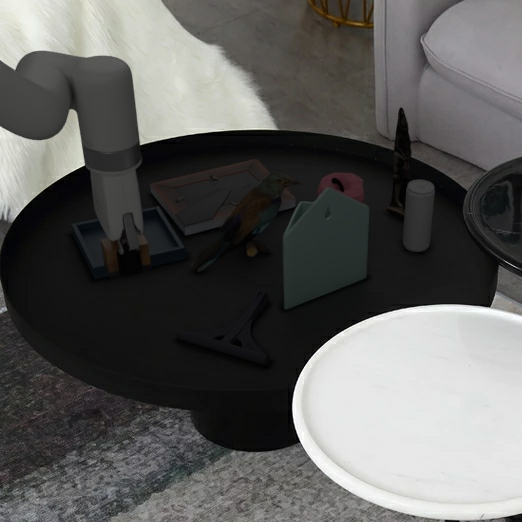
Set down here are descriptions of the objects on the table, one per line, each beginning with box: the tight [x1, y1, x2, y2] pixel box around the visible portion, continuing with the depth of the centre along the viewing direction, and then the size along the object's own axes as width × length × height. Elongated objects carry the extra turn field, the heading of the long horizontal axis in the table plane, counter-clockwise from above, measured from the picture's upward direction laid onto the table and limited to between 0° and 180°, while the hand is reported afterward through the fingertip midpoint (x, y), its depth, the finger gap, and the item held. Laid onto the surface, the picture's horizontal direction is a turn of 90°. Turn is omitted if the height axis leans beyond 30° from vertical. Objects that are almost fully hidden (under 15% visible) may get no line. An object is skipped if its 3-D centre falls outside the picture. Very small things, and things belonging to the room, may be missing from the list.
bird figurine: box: [190, 171, 303, 273], centre depth 168 cm, size 13×10×20 cm
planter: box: [282, 187, 370, 310], centre depth 160 cm, size 16×8×20 cm, turn 127°
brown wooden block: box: [101, 233, 152, 279], centre depth 144 cm, size 6×4×4 cm, turn 116°
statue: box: [386, 106, 413, 220], centre depth 177 cm, size 4×7×20 cm, turn 49°
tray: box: [70, 205, 187, 280], centre depth 171 cm, size 16×15×2 cm
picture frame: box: [149, 158, 297, 237], centre depth 183 cm, size 16×2×22 cm
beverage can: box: [402, 179, 436, 253], centre depth 172 cm, size 5×5×12 cm
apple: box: [316, 172, 366, 205], centre depth 177 cm, size 10×9×10 cm
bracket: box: [178, 290, 270, 366], centre depth 155 cm, size 14×15×3 cm
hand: (127, 264), depth 145 cm, fingers closed on brown wooden block, 3 cm apart
